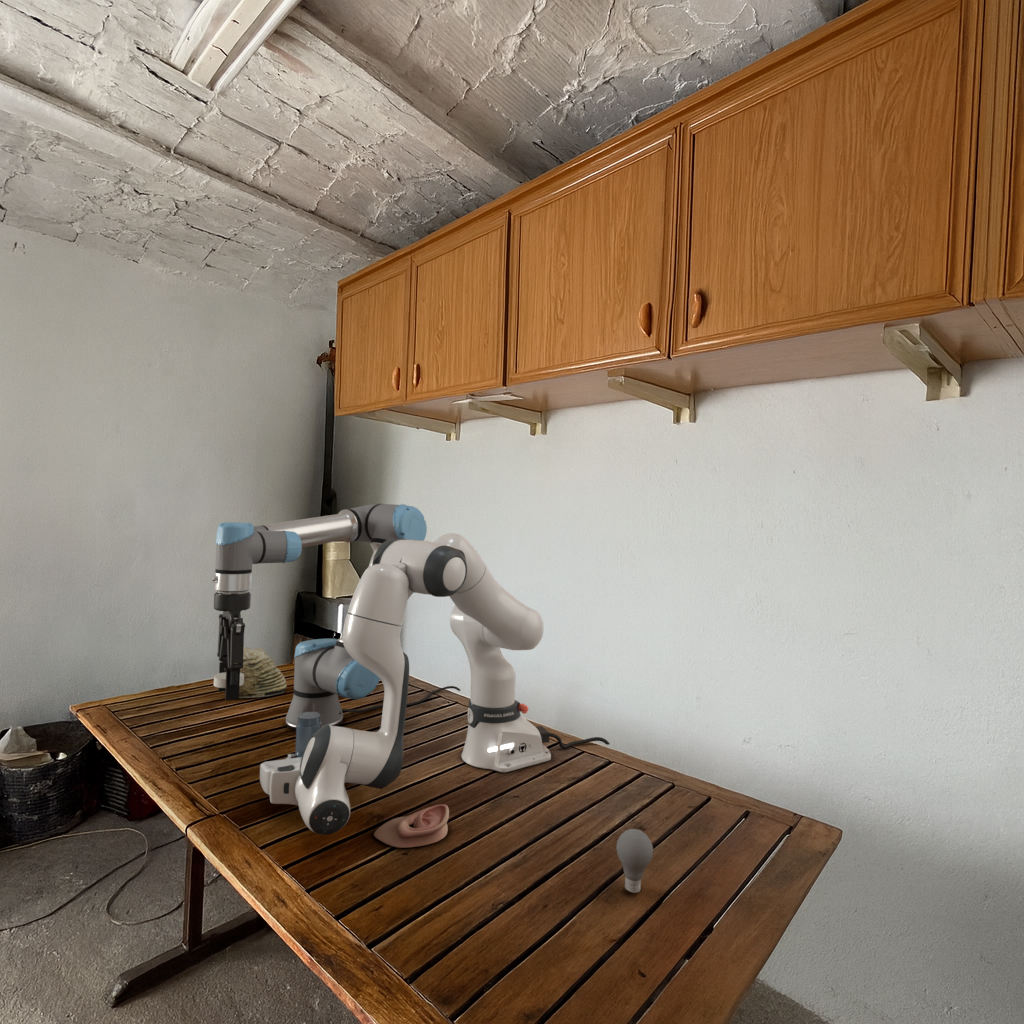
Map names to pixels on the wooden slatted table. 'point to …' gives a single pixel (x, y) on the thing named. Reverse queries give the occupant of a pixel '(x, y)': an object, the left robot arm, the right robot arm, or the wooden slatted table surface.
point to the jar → (306, 730)
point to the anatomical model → (416, 828)
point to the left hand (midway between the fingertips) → (228, 694)
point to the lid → (221, 680)
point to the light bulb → (634, 857)
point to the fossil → (260, 675)
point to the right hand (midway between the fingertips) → (306, 755)
